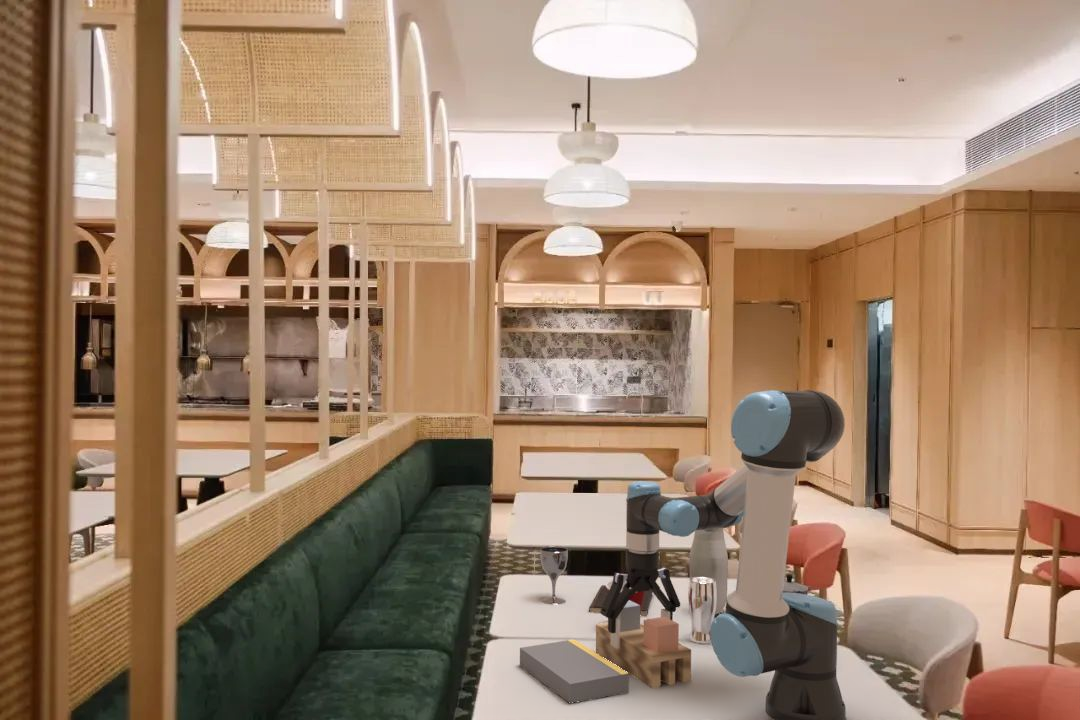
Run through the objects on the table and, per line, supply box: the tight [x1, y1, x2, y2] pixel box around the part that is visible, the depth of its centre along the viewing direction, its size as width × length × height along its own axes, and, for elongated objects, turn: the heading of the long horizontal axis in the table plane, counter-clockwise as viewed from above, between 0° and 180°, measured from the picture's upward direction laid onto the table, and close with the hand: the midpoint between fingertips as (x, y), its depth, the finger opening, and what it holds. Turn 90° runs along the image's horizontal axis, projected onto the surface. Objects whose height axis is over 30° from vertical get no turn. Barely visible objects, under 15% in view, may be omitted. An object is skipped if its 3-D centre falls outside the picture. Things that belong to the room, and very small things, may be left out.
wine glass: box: [539, 545, 569, 605], centre depth 247 cm, size 8×8×15 cm
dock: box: [519, 639, 630, 704], centre depth 187 cm, size 24×15×4 cm, turn 26°
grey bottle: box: [689, 528, 729, 616], centre depth 236 cm, size 10×10×28 cm
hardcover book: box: [588, 584, 654, 617], centre depth 246 cm, size 16×23×2 cm
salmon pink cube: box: [643, 616, 680, 652], centre depth 188 cm, size 6×6×6 cm
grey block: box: [617, 600, 641, 632], centre depth 202 cm, size 6×6×6 cm
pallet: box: [595, 622, 692, 689], centre depth 195 cm, size 24×10×7 cm, turn 27°
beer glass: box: [687, 577, 717, 645], centre depth 214 cm, size 7×7×15 cm
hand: (640, 642), depth 195 cm, fingers open, 13 cm apart
